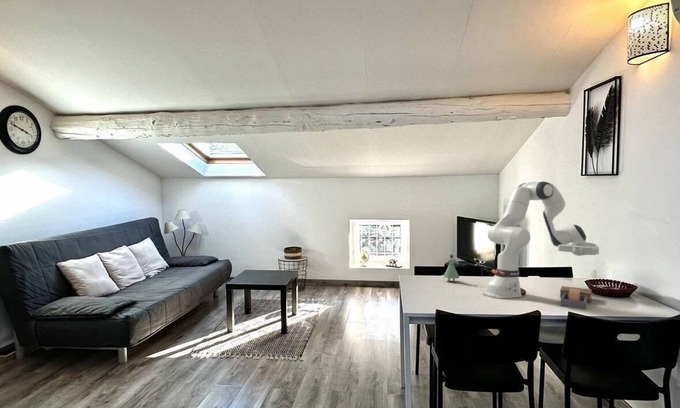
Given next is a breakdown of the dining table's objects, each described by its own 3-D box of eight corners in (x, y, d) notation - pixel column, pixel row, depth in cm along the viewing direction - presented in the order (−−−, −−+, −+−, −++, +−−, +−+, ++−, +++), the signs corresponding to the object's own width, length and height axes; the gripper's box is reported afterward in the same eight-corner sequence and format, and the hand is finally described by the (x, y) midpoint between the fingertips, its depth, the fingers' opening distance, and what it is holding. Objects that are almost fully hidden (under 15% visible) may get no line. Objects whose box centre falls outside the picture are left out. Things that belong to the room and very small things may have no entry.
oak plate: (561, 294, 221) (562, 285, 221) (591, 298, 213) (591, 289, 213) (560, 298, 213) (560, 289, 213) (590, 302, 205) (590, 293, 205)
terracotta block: (570, 288, 208) (568, 292, 200) (580, 289, 205) (578, 293, 197) (570, 299, 208) (568, 304, 200) (579, 301, 206) (578, 305, 197)
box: (563, 299, 212) (563, 292, 212) (587, 302, 205) (587, 295, 205) (560, 305, 199) (560, 298, 199) (585, 309, 193) (585, 302, 193)
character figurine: (464, 280, 257) (464, 253, 256) (466, 283, 249) (466, 255, 248) (439, 279, 259) (439, 252, 259) (440, 282, 251) (441, 254, 251)
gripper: (559, 241, 236) (556, 243, 225) (599, 244, 224) (598, 246, 213) (558, 251, 236) (556, 254, 225) (599, 255, 224) (598, 257, 213)
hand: (577, 250), depth 219 cm, fingers closed
